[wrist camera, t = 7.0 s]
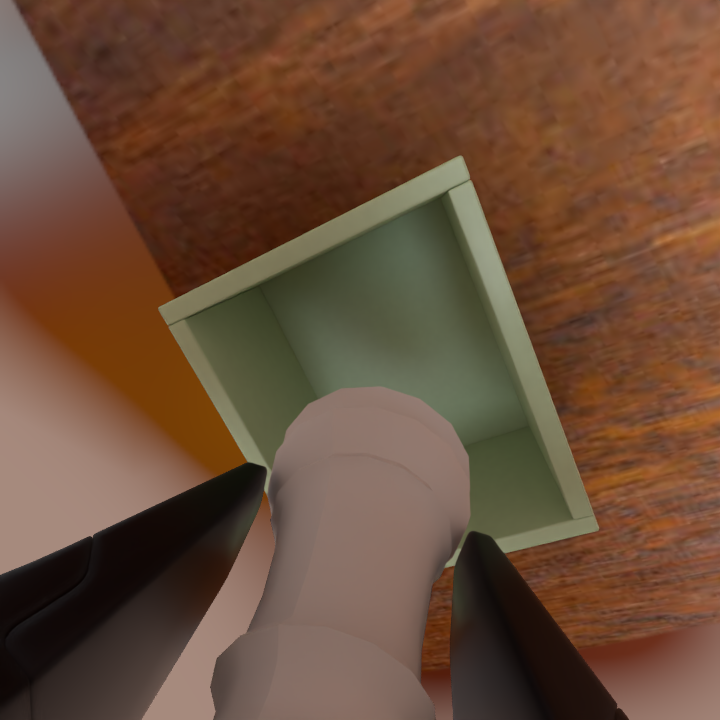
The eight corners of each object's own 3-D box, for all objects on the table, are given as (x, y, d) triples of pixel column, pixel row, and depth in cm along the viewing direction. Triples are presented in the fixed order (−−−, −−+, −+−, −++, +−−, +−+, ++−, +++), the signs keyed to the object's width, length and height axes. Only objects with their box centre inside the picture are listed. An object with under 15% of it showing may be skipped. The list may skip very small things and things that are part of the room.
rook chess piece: (258, 402, 10) (-188, 897, 3) (441, 355, 9) (491, 953, 2) (320, 550, 12) (118, 1175, 4) (489, 524, 10) (636, 1304, 3)
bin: (544, 426, 19) (600, 531, 13) (355, 484, 21) (326, 597, 15) (449, 175, 16) (462, 153, 10) (246, 275, 19) (155, 308, 12)
